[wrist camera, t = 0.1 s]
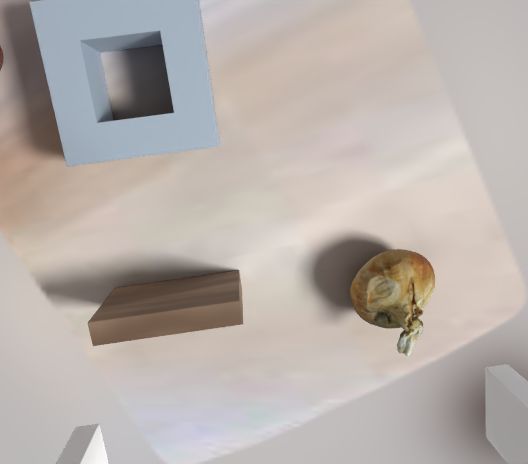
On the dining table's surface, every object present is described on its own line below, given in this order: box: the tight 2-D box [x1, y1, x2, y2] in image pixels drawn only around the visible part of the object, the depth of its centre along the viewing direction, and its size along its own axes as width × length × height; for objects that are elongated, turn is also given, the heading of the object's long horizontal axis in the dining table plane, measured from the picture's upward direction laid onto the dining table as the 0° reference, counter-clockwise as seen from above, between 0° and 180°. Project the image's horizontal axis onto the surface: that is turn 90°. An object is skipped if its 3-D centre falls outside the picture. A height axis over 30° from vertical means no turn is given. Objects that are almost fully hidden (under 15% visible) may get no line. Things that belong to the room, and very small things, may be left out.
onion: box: [350, 249, 435, 356], centre depth 40 cm, size 8×8×8 cm
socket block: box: [29, 0, 220, 167], centre depth 36 cm, size 12×12×5 cm
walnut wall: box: [88, 270, 243, 346], centre depth 39 cm, size 2×12×8 cm, turn 97°
